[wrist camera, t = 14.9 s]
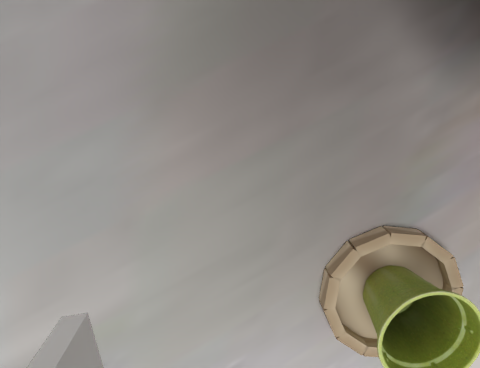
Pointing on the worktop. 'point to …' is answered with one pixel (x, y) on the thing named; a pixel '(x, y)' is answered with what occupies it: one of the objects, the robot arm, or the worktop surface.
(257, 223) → the worktop surface
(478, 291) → the worktop surface
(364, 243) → the round wooden tray
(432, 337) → the plant pot
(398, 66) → the worktop surface
